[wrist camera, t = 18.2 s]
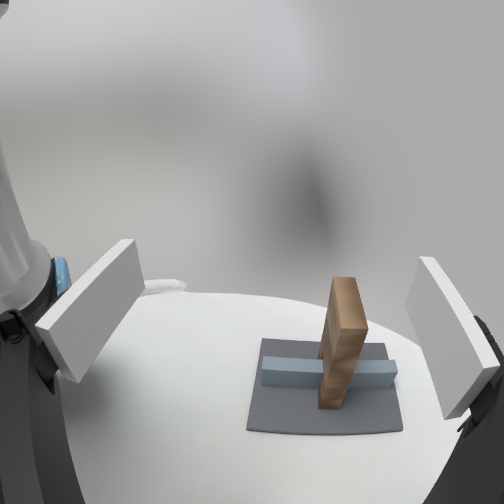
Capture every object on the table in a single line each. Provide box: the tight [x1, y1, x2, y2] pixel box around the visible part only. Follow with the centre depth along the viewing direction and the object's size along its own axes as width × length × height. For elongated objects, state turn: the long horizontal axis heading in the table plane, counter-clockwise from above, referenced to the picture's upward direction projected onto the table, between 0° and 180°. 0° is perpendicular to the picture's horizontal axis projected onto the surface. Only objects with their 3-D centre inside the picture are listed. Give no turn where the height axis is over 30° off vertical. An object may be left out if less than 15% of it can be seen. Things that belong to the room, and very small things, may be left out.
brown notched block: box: [317, 276, 368, 409], centre depth 36 cm, size 3×10×16 cm, turn 172°
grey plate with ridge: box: [246, 338, 403, 435], centre depth 39 cm, size 22×18×5 cm
